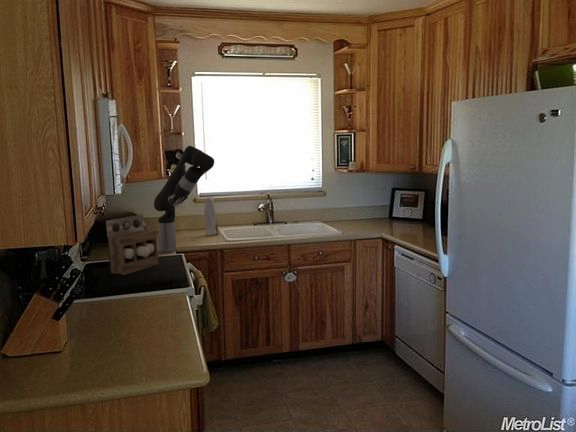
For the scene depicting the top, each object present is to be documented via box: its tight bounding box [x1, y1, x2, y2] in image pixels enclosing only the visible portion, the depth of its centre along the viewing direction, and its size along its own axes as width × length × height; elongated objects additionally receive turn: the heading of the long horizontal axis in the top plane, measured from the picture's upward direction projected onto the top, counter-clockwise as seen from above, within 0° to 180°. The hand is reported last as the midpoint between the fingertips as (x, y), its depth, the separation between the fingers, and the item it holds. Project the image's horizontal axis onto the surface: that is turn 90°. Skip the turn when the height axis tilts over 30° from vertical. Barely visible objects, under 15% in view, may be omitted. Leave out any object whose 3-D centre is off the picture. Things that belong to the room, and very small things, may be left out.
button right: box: [146, 243, 154, 253], centre depth 257 cm, size 7×5×5 cm
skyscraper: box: [202, 194, 220, 237], centre depth 343 cm, size 8×8×28 cm
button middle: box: [136, 246, 150, 257], centre depth 249 cm, size 7×5×5 cm
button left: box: [124, 248, 134, 259], centre depth 246 cm, size 7×5×5 cm
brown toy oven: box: [105, 214, 160, 276], centre depth 252 cm, size 10×23×26 cm, turn 148°
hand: (169, 209), depth 250 cm, fingers closed
